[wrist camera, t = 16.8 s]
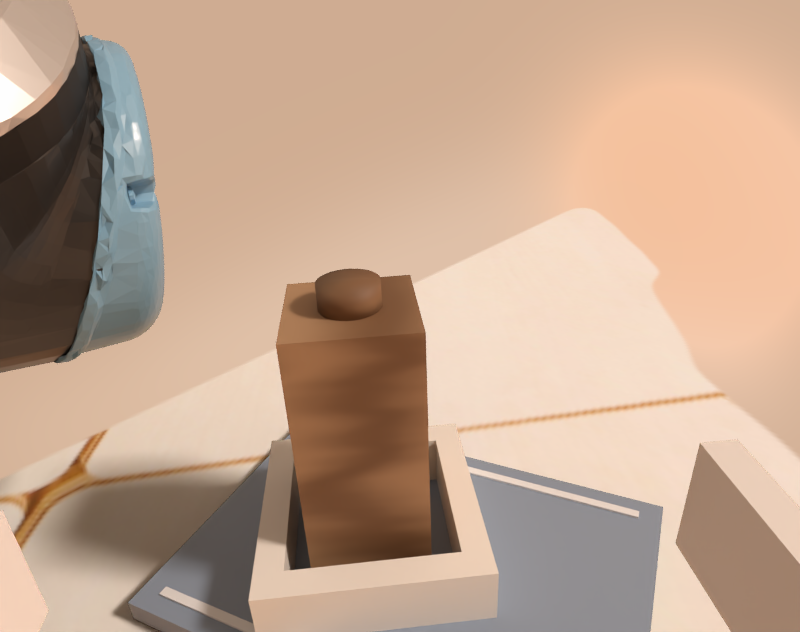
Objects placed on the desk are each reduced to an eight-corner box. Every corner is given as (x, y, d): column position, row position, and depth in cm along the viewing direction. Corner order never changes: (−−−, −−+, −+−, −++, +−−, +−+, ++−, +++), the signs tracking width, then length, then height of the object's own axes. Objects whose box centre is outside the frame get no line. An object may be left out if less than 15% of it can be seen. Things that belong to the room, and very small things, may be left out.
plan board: (133, 618, 26) (127, 601, 26) (308, 429, 37) (306, 414, 37) (625, 848, 18) (630, 830, 18) (659, 522, 30) (663, 505, 29)
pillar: (314, 592, 26) (271, 317, 20) (318, 506, 30) (284, 261, 24) (432, 580, 26) (424, 305, 20) (418, 496, 30) (408, 252, 25)
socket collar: (258, 644, 24) (248, 601, 23) (278, 479, 32) (271, 440, 31) (496, 617, 24) (498, 573, 23) (455, 461, 33) (455, 423, 32)
